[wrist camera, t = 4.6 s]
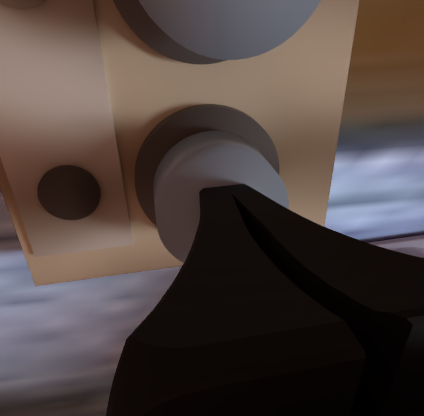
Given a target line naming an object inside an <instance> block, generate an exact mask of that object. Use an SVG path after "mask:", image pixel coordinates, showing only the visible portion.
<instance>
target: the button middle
mask: <svg viewBox="0 0 424 416" xmlns="http://www.w3.org/2000/svg"><path fill="white" fill-rule="evenodd" d="M320 1H321V0H139V2H140V4H141V5H142V7H143V8H144V10H145V11H146V12H147V14H148V15H149V17H150V18H151V19H152V20H153V21H154V22H155V23H156V24H157V25H158V26H159V27H160V28H161V29H162V30H163V31H164V32H165V33H166V34H167V35H168V36H169V37H171V38H172V39H173V40H174V41H176V42H177V43H179V44H180V45H182V46H183V47H185V48H186V49H189V50H191V51H193V52H195V53H197V54H200V55H203V56H206V57H209V58H215V59H221V60H239V59H247V58H251V57H254V56H258V55H261V54H263V53H266V52H268V51H270V50H272V49H274V48H276V47H277V46H279V45H281V44H282V43H284V42H285V41H286V40H288V39H289V38H290V37H291V36H293V35H294V34H295V33H296V32H297V31H298V30H299V29H300V28H301V27H302V26H303V25H304V24H305V22H306V21H307V20H308V19H309V17H310V16H311V15H312V14H313V12H314V11H315V9H316V7H317V6H318V4H319V3H320Z"/></svg>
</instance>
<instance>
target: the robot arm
mask: <svg viewBox="0 0 424 416" xmlns="http://www.w3.org/2000/svg"><path fill="white" fill-rule="evenodd" d="M199 200H200V220H199V225H198V228H197V231H196V235H195V238H194V241H193V244H192V246H191V249H190V251H189V253H188V256H187V258H186V260H185V262H184V264H183V266H182V268H181V269H180V271H179V273H178V275H177V277H176V278H175V280H174V282H173V283H172V285H171V286H170V288H169V289H168V290H167V292H166V293H165V294H164V296H163V297H162V299H161V300H160V301H159V303H158V304H157V306H156V307H155V308H154V309H153V311H152V312H151V313H150V314H149V315H148V316H147V317H146V318H145V320H144V321H143V322H142V323H141V324H140V325H139V326H138V327H137V328H136V329H135V330H134V332H133V333H132V334H131V335H130V336H129V337H128V338H127V339H126V342H125V345H124V348H123V351H122V354H121V357H120V360H119V363H118V366H117V369H116V373H115V376H114V379H113V383H112V387H111V392H110V396H109V402H108V407H107V413H106V416H424V235H419V236H412V237H405V238H397V239H390V240H383V241H376V242H369V243H366V242H363V241H360V240H357V239H354V238H351V237H349V236H346V235H343V234H341V233H338V232H336V231H333V230H331V229H328V228H326V227H324V226H321V225H319V224H317V223H315V222H313V221H311V220H309V219H307V218H305V217H302V216H300V215H298V214H297V213H295V212H293V211H291V210H289V209H287V208H286V207H284V206H282V205H280V204H279V203H277V202H275V201H273V200H272V199H270V198H268V197H267V196H265V195H263V194H262V193H260V192H258V191H257V190H255V189H253V188H251V187H250V186H248V185H246V184H237V185H228V186H219V187H210V188H203V189H202V190H201V191H200V192H199Z"/></svg>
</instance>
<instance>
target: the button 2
mask: <svg viewBox="0 0 424 416" xmlns="http://www.w3.org/2000/svg"><path fill="white" fill-rule="evenodd" d="M237 184H246V185H248V186H250V187H251V188H253V189H255V190H257V191H258V192H260V193H262V194H263V195H265V196H267V197H268V198H270V199H272V200H273V201H275V202H277V203H279V204H280V205H282V206H284V207H286V208H287V209H289V200H288V193H287V190H286V187H285V185H284V183H283V180H282V179H281V177H280V176H279V174H278V173H277V172H276V171H275V170H274V168H273V167H272V166H271V165H270V164H269V162H268V161H267V160H266V159H265V158H264V156H263V155H262V154H261V153H260V152H259V151H258V149H257V148H256V147H255V146H254V145H253V144H252V143H250V142H249V141H248V140H246V139H245V138H243V137H241V136H239V135H237V134H234V133H230V132H226V131H205V132H200V133H197V134H194V135H191V136H189V137H187V138H185V139H183V140H181V141H180V142H178V143H177V144H176V145H174V146H173V147H172V148H171V149H170V150H169V151H168V152H167V153H166V155H165V156H164V157H163V158H162V160H161V162H160V164H159V165H158V168H157V170H156V173H155V177H154V183H153V194H154V204H155V215H156V225H157V230H158V234H159V236H160V239H161V241H162V243H163V245H164V246H165V248H166V249H167V250H168V251H169V252H170V253H171V254H172V255H173V256H174V257H175V258H176V259H178V260H179V261H181V262H183V263H184V262H185V260H186V258H187V256H188V253H189V251H190V249H191V246H192V244H193V241H194V238H195V235H196V231H197V228H198V225H199V220H200V200H199V192H200V191H201V190H202V189H203V188H210V187H219V186H228V185H237Z"/></svg>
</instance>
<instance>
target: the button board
mask: <svg viewBox="0 0 424 416" xmlns="http://www.w3.org/2000/svg"><path fill="white" fill-rule="evenodd" d="M358 5H359V0H321V1H320V3H319V4H318V6H317V7H316V9H315V11H314V12H313V14H312V15H311V16H310V17H309V19H308V20H307V21H306V22H305V24H304V25H303V26H302V27H301V28H300V29H299V30H298V31H297V32H296V33H295V34H294V35H293V36H291V37H290V38H289V39H288V40H286V41H285V42H284V43H282V44H281V45H279V46H277V47H276V48H274V49H272V50H270V51H268V52H266V53H263V54H261V55H258V56H254V57H251V58H247V59H239V60H221V59H215V58H209V57H206V56H203V55H200V54H197V53H195V52H193V51H191V50H189V49H186V48H185V47H183V46H182V45H180V44H179V43H177V42H176V41H174V40H173V39H172V38H171V37H169V36H168V35H167V34H166V33H165V32H164V31H163V30H162V29H161V28H160V27H159V26H158V25H157V24H156V23H155V22H154V21H153V20H152V19H151V18H150V17H149V15H148V14H147V12H146V11H145V10H144V8H143V7H142V5H141V4H140V2H139V0H0V188H1V191H2V194H3V197H4V199H5V202H6V205H7V208H8V211H9V213H10V216H11V219H12V222H13V224H14V227H15V230H16V233H17V236H18V238H19V241H20V244H21V247H22V249H23V252H24V255H25V258H26V261H27V263H28V266H29V269H30V272H31V275H32V277H33V280H34V283H35V286H39V285H47V284H54V283H61V282H68V281H75V280H83V279H90V278H97V277H104V276H111V275H119V274H126V273H133V272H140V271H147V270H155V269H162V268H169V267H176V266H183V264H184V263H183V262H181V261H179V260H178V259H176V258H175V257H174V256H173V255H172V254H171V253H170V252H169V251H168V250H167V249H166V248H165V246H164V245H163V243H162V241H161V239H160V236H159V234H158V230H157V225H156V215H155V204H154V194H153V183H154V177H155V173H156V170H157V168H158V165H159V164H160V162H161V160H162V158H163V157H164V156H165V155H166V153H167V152H168V151H169V150H170V149H171V148H172V147H173V146H174V145H176V144H177V143H178V142H180V141H181V140H183V139H185V138H187V137H189V136H191V135H194V134H197V133H200V132H205V131H226V132H230V133H234V134H237V135H239V136H241V137H243V138H245V139H246V140H248V141H249V142H250V143H252V144H253V145H254V146H255V147H256V148H257V149H258V151H259V152H260V153H261V154H262V155H263V156H264V158H265V159H266V160H267V161H268V162H269V164H270V165H271V166H272V167H273V168H274V170H275V171H276V172H277V173H278V174H279V176H280V177H281V179H282V180H283V183H284V185H285V187H286V190H287V193H288V200H289V210H291V211H293V212H295V213H297V214H298V215H300V216H302V217H305V218H307V219H309V220H311V221H313V222H315V223H317V224H319V225H321V226H324V225H325V219H326V212H327V206H328V199H329V193H330V186H331V180H332V173H333V167H334V160H335V154H336V148H337V141H338V135H339V128H340V122H341V115H342V109H343V102H344V96H345V89H346V83H347V76H348V70H349V64H350V57H351V51H352V44H353V38H354V31H355V25H356V18H357V12H358Z"/></svg>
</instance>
